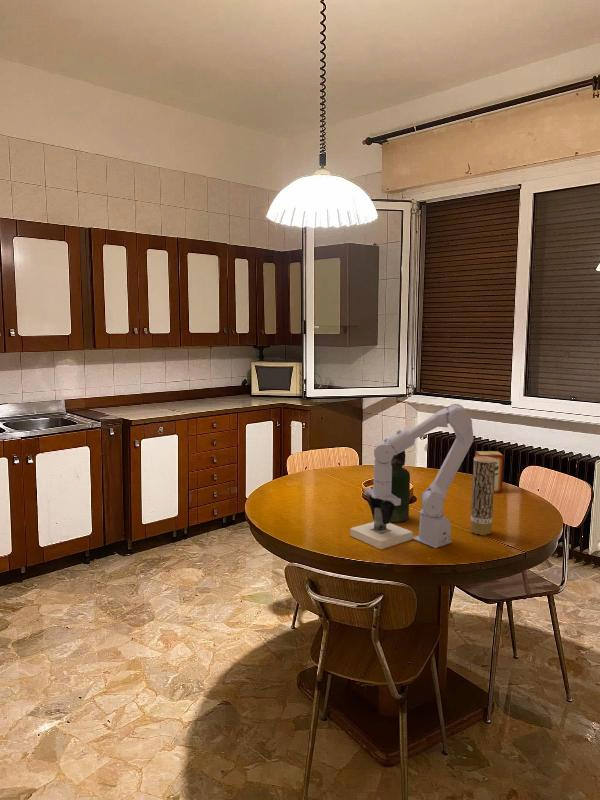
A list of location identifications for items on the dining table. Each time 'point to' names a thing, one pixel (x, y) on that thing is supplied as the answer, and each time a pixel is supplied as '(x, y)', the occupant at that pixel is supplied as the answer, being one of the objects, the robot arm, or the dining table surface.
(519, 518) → the dining table surface
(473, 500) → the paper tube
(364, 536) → the socket
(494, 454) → the baking soda box
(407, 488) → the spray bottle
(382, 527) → the peg
